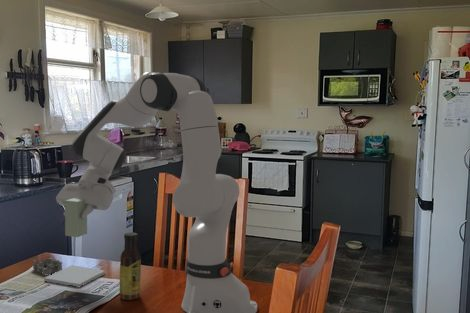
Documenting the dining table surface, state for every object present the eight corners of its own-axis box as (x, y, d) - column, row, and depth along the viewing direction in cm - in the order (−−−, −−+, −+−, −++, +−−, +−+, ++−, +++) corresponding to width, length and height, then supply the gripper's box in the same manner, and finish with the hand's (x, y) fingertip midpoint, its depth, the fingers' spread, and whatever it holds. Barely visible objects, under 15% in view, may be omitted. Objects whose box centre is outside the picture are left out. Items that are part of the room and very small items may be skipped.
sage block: (87, 233, 158) (87, 199, 157) (77, 237, 153) (77, 201, 152) (75, 232, 160) (74, 197, 159) (65, 235, 155) (65, 200, 154)
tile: (105, 273, 162) (105, 270, 162) (79, 287, 148) (79, 284, 148) (72, 268, 166) (72, 265, 166) (44, 281, 153) (44, 277, 153)
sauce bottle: (135, 302, 138) (135, 237, 137) (115, 300, 140) (116, 235, 138) (143, 294, 145) (144, 232, 143) (125, 292, 146) (125, 230, 144)
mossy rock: (30, 269, 165) (30, 258, 164) (51, 265, 170) (51, 254, 170) (43, 277, 157) (43, 265, 157) (64, 272, 163) (64, 260, 163)
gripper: (63, 176, 164) (44, 208, 156) (112, 180, 157) (95, 214, 149) (72, 187, 169) (53, 218, 161) (120, 191, 162) (103, 225, 154)
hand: (74, 216), depth 155 cm, fingers closed on sage block, 5 cm apart
